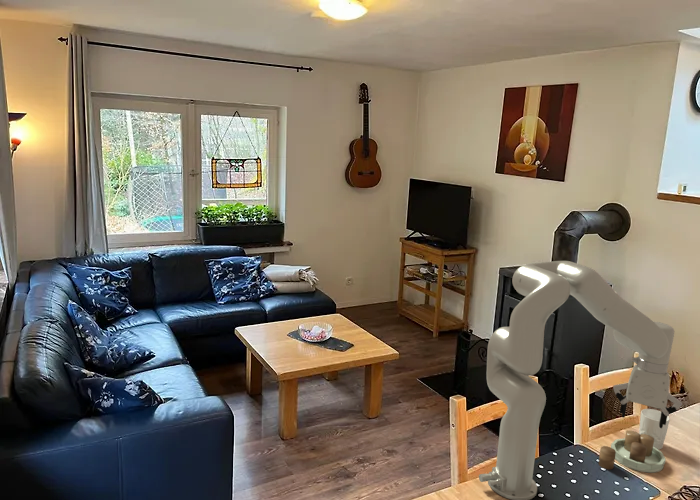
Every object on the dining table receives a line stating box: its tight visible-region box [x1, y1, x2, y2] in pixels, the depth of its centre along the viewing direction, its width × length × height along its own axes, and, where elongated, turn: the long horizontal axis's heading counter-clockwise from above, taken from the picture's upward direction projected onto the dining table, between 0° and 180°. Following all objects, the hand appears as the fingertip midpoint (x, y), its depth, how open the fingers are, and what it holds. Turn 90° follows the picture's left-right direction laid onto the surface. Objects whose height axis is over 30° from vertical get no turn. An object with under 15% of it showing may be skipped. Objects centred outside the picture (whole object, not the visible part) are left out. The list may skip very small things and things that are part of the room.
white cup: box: [638, 408, 671, 450], centre depth 167 cm, size 8×8×10 cm
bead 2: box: [629, 442, 647, 463], centre depth 155 cm, size 4×4×5 cm
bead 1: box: [597, 445, 616, 470], centre depth 154 cm, size 4×4×5 cm
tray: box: [610, 430, 666, 474], centre depth 158 cm, size 14×14×6 cm
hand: (641, 420), depth 153 cm, fingers open, 9 cm apart
